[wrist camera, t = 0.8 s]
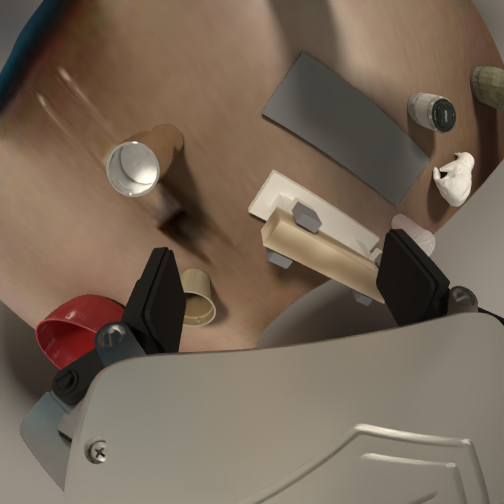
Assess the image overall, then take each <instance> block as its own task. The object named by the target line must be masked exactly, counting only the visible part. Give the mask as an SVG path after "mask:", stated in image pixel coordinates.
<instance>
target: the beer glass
mask: <svg viewBox="0 0 504 504" xmlns="http://www.w3.org/2000/svg"><path fill="white" fill-rule="evenodd" d="M182 147H183V136H182V134H181V132H180V131H179V129H178V128H176V127H175V126H173V125H170V124H160V125H158V126H156V127H154V128H153V129H152V130H151V131H143V132H139V133H137V134H134V135H132V136H130V137H129V138H127V139H126V140H124V141H123V142H122V143H121V144H120V145H118V146H117V147H115V148H114V149H113V150H112V152H111V153H110V155H109V157H108V160H107V164H106V172H107V177H108V179H109V182H110V183H111V185H112V186H113V188H114V189H115V190H117V191H118V192H119V193H121V194H123V195H125V196H128V197H140V196H143V195H146V194H147V193H149V192H150V191H151V190H152V189H153V188H154V187H155V186H156V185H157V184H158V183H159V182H160V181H161V180H162V179H163V178H164V177H165V175H166V174H167V172H168V171H169V169H170V167H171V164H172V161H173V158H175V157H176V156H177V155H178V154H179V153H180V152H181V150H182Z"/></svg>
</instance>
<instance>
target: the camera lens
mask: <svg viewBox="0 0 504 504" xmlns="http://www.w3.org/2000/svg"><path fill="white" fill-rule="evenodd" d="M407 109H408V113H409V115H410V117H411V119H412V120H414V121H415V122H416V123H417V124H419V125H421V126H423V127H426V128H429V129H431V130H434V131H436V132H439V133H447V132H449V131H450V130H451V129H452V128H453V127H454V124H455V121H456V113H455V109H454V106H453V105H452V103H451V102H450V101H449V100H448V99H447V98H445V97H442V96H437V95H432V94H427V93H418V94H414V95H412V96H411V97H410V99H409V101H408V106H407Z"/></svg>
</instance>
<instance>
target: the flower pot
mask: <svg viewBox="0 0 504 504" xmlns="http://www.w3.org/2000/svg"><path fill="white" fill-rule="evenodd" d="M180 279H181V283H182V287H183V290H184V293H185V297H186V310H185V316H184V321H183V325H184V326H189V327H199V326H203V325H206V324H208V323H210V322H211V321H212V320H213V319H214V317H215V315H216V308H215V305H214V303H213V301H212V297H211V288H210V279H209V277H208V275H207V274H205V273H204V272H203V271H202V270H199V269H188V270H186V271H185V272H183V273H182V274H181V276H180Z"/></svg>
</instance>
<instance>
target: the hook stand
mask: <svg viewBox="0 0 504 504" xmlns="http://www.w3.org/2000/svg"><path fill="white" fill-rule="evenodd" d="M276 207H279V208H281V209H283V210H285V211H287V212H288V213H290V214H292V215H294V218H295V220H296V223H298V224H300V225H302V226H303V227H305V228H307V229H309V230H311V231H312V232H314V233H316V232H317V230H318V229H319V230H321V231H322V232H324V233H326V234H327V235H329V236H331V237H333V238H334V239H336V240H338V241H339V242H341V243H343V244H344V245H346V246H348V247H350V248H351V249H353V250H355V251H356V252H358V253H359V254H361V255H363V256H364V257H366V258H368V259H369V260H371V261H372V262H374V263H376V264H377V265H378V266H380V261H381V257H382V252H383V251H381V250H380V249H378V248H376V249H375V250H374V251H373V253H372V254H371V253H370V252H369V251H370V250H371V249H372V248H373V247H374V246H375V244H376V243H377V242H378V241H379V240H380V239H379V237H378V236H377V235H376V234H375V233H373V232H372V231H370V230H369V229H367V228H366V227H365V226H363V225H362V224H360V223H359V222H357V221H356V220H354V219H353V218H351V217H350V216H348V215H347V214H345V213H344V212H342V211H341V210H339V209H338V208H336V207H335V206H333V205H331V204H330V203H328V202H327V201H325V200H324V199H322V198H320V197H319V196H317V195H316V194H314V193H312V192H311V191H309V190H307V189H306V188H304V187H303V186H301V185H299V184H298V183H296V182H294V181H292V180H291V179H289V178H287V177H286V176H284V175H282V174H280V173H279V172H277V171H275V170H273V171H272V172H271V174H270V175H269V177H268V178H267V180H266V181H265V183H264V184H263V186H262V188H261V189H260V191H259V192H258V194H257V195H256V197H255V198H254V200H253V202H252V203H251V205H250V206H249V208H248V210H249V212H250V213H252V214H254V215H256V216H258V217H260V218H262V219H264V220H266V221H267V220H268V219H269V217H270V216H271V214H272V213H273V211H274V210H275V208H276ZM266 250H267V257H268V261H270V262H272V263H274V264H276V265H279V266H281V267H283V268H285V269H287V268H288V267H289V266H290V264H291V263H292V262H293V260H292V259H291V258H289V257H287V256H285V255H282V254H280V253H278V252H276V251H274V250H272V249H270V248H268V247H266ZM350 289H351V290H352V293H353V295H354V297H355V300H356V301H358V302H359V303H362V304H364V305H366V306H368V305H369V304H370V303H371V302H372V301H373V299H372V298H371V297H369V296H367V295H365V294H363V293H361V292H359V291H357V290H355V289H353V288H350Z"/></svg>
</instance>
